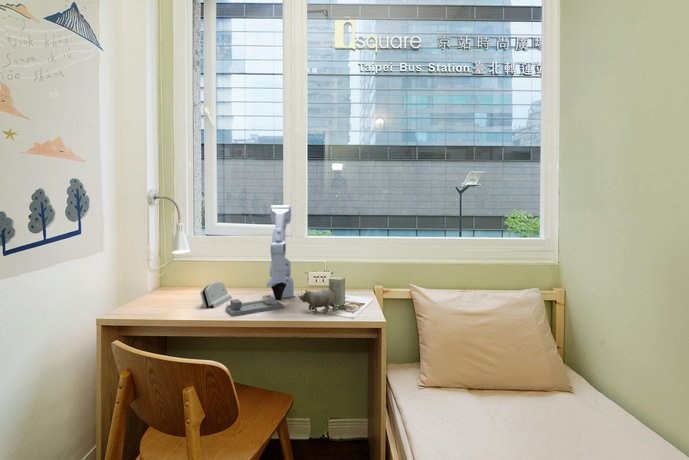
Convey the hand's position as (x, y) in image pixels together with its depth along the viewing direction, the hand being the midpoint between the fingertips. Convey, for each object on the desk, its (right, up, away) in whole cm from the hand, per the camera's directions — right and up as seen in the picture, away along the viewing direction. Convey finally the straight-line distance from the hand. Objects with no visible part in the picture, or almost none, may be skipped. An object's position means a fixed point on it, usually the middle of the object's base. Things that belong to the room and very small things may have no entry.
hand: (278, 300), depth 163 cm
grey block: (-4, -1, -3) cm, 5 cm away
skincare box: (+26, -3, +2) cm, 26 cm away
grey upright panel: (-29, -2, +4) cm, 29 cm away
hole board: (-9, -3, -6) cm, 11 cm away
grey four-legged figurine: (+17, -4, -7) cm, 19 cm away
